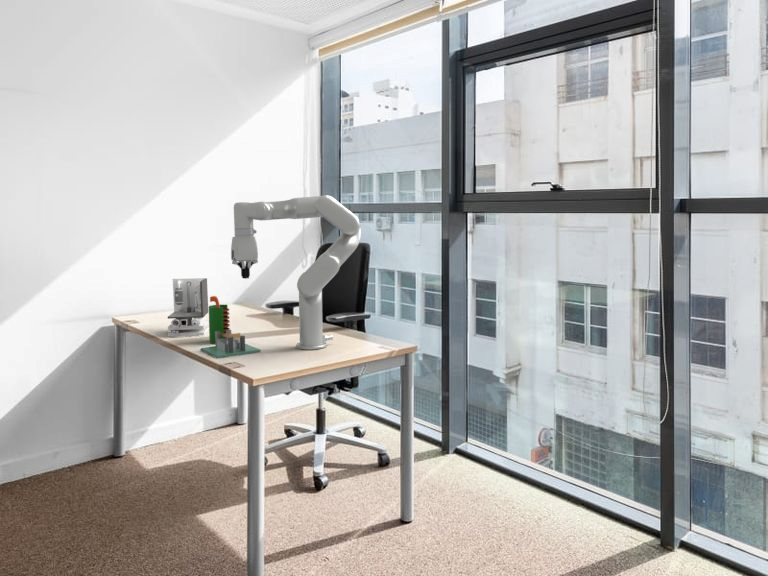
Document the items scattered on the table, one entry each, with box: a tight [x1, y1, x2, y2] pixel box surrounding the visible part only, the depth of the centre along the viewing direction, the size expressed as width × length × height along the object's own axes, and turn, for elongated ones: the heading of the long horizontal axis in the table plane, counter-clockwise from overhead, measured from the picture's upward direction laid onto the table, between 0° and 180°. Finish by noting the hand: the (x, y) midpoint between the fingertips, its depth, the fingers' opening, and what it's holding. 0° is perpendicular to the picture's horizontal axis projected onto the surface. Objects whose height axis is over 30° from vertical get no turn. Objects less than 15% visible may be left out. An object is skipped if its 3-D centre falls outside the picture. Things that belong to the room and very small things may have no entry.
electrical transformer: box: [167, 277, 209, 337], centre depth 282 cm, size 16×19×25 cm
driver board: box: [200, 334, 262, 359], centre depth 245 cm, size 18×18×7 cm
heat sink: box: [215, 329, 240, 352], centre depth 247 cm, size 8×12×6 cm, turn 36°
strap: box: [220, 332, 241, 339], centre depth 245 cm, size 3×14×2 cm, turn 36°
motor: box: [208, 295, 231, 345], centre depth 264 cm, size 10×9×20 cm
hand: (245, 278), depth 248 cm, fingers closed
